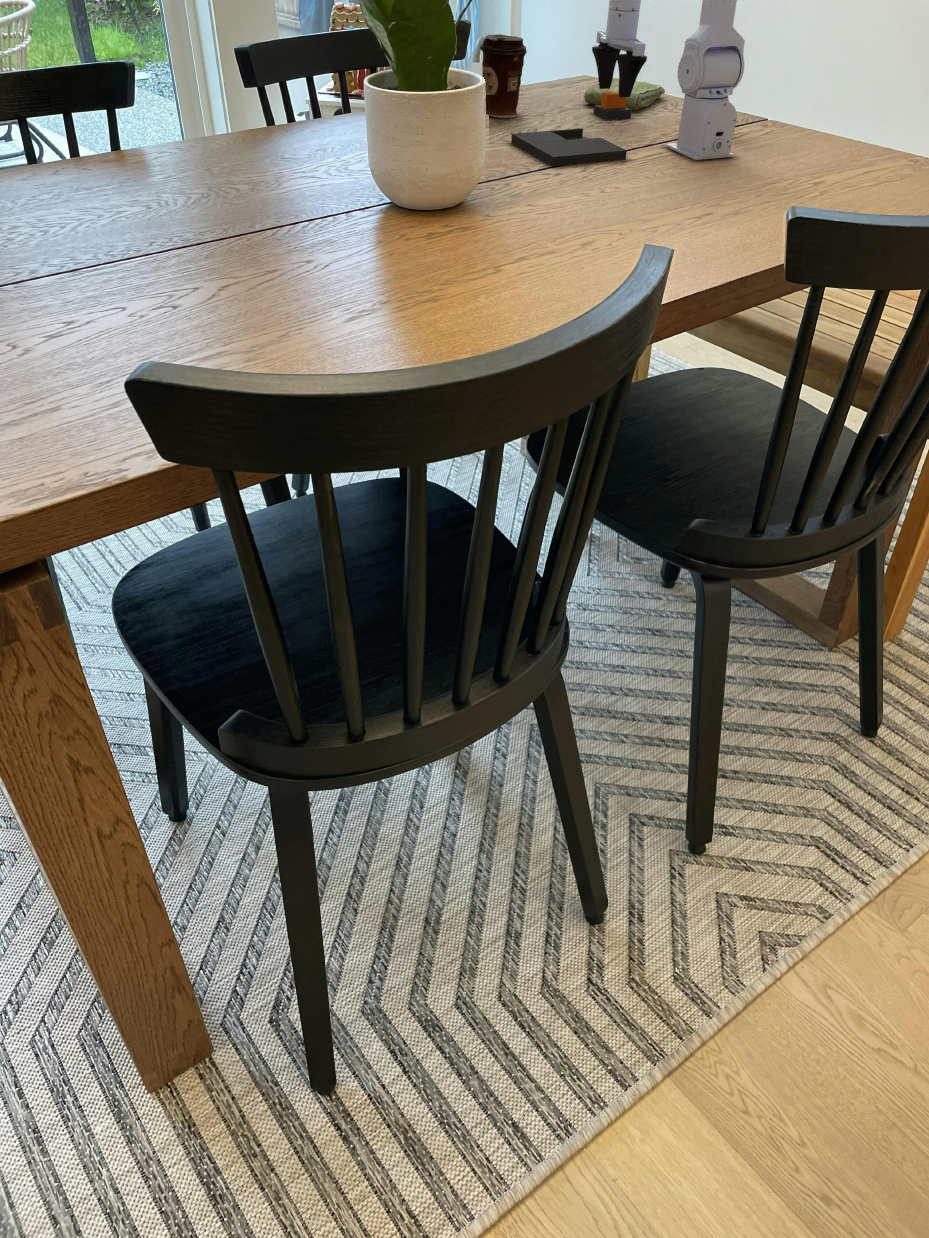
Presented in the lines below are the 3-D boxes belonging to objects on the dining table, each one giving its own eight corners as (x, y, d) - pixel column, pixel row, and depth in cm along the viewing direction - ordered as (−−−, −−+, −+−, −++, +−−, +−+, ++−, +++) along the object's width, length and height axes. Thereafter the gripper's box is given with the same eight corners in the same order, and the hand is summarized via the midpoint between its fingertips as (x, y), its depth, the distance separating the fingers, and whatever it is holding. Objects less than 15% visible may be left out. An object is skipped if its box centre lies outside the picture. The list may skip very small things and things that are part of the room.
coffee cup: (484, 121, 175) (487, 41, 166) (472, 111, 181) (474, 33, 172) (528, 119, 177) (532, 40, 168) (514, 109, 183) (518, 32, 174)
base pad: (625, 160, 156) (627, 150, 155) (552, 166, 152) (553, 157, 151) (580, 137, 167) (581, 128, 166) (511, 143, 163) (511, 133, 162)
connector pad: (630, 118, 179) (633, 95, 177) (606, 120, 178) (609, 96, 175) (616, 112, 183) (619, 89, 181) (593, 114, 181) (595, 91, 179)
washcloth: (666, 97, 195) (669, 80, 193) (638, 113, 183) (641, 95, 181) (608, 90, 199) (610, 73, 197) (577, 105, 187) (579, 87, 185)
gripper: (586, 4, 173) (578, 86, 182) (625, 16, 163) (615, 102, 172) (618, 3, 175) (609, 84, 184) (659, 14, 165) (647, 100, 174)
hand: (614, 92), depth 178 cm, fingers open, 7 cm apart
